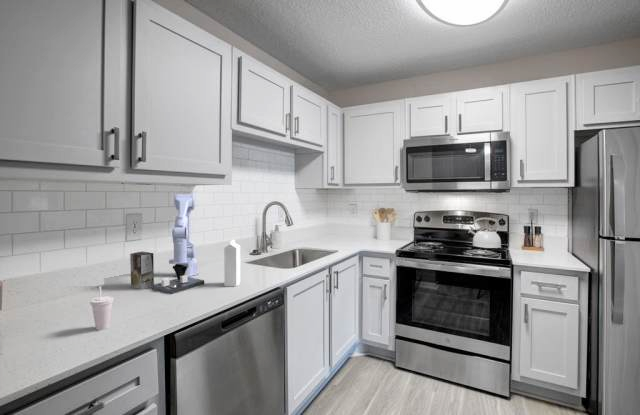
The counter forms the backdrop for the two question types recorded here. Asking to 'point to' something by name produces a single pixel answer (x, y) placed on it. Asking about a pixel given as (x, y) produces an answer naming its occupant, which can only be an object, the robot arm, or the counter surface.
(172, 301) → the counter surface
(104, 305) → the smoothie
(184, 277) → the block
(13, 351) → the counter surface
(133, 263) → the coffee box
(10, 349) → the counter surface
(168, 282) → the block
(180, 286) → the console
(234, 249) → the milk
